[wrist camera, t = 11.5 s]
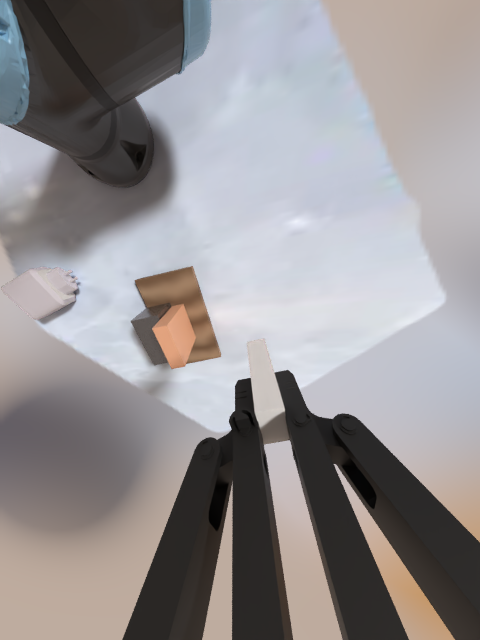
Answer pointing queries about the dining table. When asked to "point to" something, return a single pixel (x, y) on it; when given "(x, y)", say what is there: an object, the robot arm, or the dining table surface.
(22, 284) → the charger
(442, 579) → the robot arm
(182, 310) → the orange block
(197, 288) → the base board
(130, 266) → the dining table surface
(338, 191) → the dining table surface
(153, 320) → the socket
